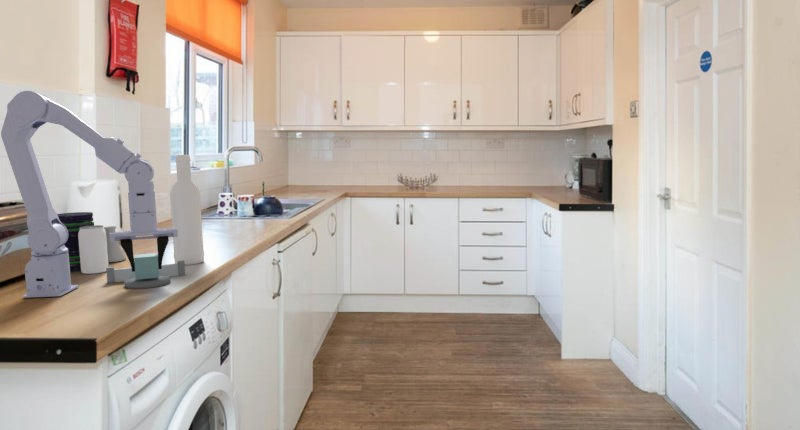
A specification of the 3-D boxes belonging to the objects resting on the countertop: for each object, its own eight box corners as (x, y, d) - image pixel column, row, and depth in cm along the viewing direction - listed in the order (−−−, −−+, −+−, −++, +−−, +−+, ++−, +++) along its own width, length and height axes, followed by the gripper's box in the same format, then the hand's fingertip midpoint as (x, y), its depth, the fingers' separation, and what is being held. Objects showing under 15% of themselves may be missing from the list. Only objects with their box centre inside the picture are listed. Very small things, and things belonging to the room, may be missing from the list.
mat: (163, 287, 137) (163, 283, 137) (117, 289, 137) (117, 285, 136) (175, 278, 147) (175, 274, 147) (133, 280, 146) (132, 276, 146)
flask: (117, 258, 180) (115, 224, 179) (131, 260, 176) (128, 226, 175) (93, 261, 174) (90, 227, 173) (106, 264, 170) (104, 229, 169)
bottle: (168, 264, 167) (160, 155, 164) (188, 259, 174) (181, 154, 171) (190, 265, 164) (183, 154, 161) (210, 260, 171) (204, 154, 168)
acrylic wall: (184, 274, 152) (184, 260, 152) (185, 275, 151) (184, 261, 151) (107, 281, 146) (106, 267, 145) (107, 283, 144) (106, 268, 144)
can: (78, 275, 155) (74, 228, 153) (84, 270, 161) (80, 226, 160) (106, 273, 156) (102, 227, 155) (110, 268, 163) (107, 224, 161)
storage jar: (74, 265, 170) (70, 212, 168) (105, 265, 168) (101, 212, 166) (47, 272, 160) (42, 216, 159) (79, 272, 158) (75, 216, 157)
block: (158, 273, 145) (156, 252, 145) (159, 277, 141) (157, 256, 140) (135, 275, 143) (134, 254, 143) (135, 279, 139) (134, 258, 138)
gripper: (174, 208, 147) (178, 263, 148) (108, 212, 141) (113, 269, 142) (176, 211, 140) (180, 268, 142) (107, 215, 134) (112, 275, 136)
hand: (146, 269), depth 142 cm, fingers closed on block, 5 cm apart
